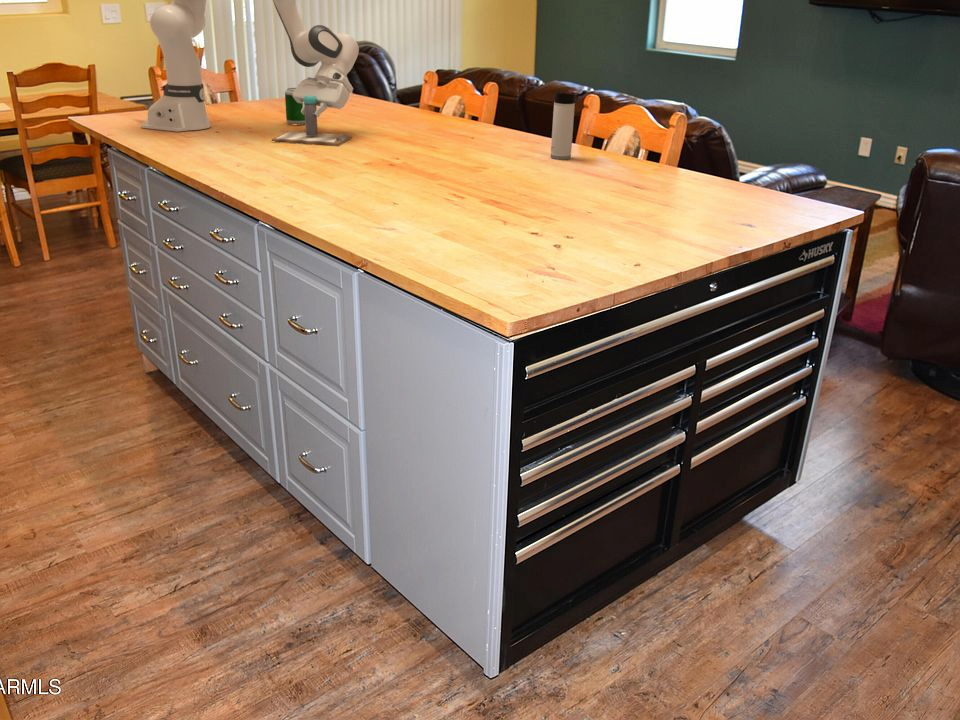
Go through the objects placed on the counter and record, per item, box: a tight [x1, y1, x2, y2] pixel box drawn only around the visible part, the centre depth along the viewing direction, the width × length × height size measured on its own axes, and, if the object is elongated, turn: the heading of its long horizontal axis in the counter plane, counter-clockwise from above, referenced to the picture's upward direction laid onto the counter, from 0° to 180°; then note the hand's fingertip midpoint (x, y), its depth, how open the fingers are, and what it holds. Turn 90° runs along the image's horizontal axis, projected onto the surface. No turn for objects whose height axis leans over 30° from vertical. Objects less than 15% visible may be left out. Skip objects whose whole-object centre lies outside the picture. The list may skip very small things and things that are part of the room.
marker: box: [304, 95, 319, 136], centre depth 289 cm, size 4×4×12 cm
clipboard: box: [271, 130, 352, 147], centre depth 292 cm, size 22×15×2 cm
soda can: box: [284, 87, 305, 126], centre depth 315 cm, size 8×8×12 cm
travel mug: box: [550, 91, 576, 161], centre depth 275 cm, size 6×7×20 cm
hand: (309, 114), depth 288 cm, fingers closed on marker, 4 cm apart
